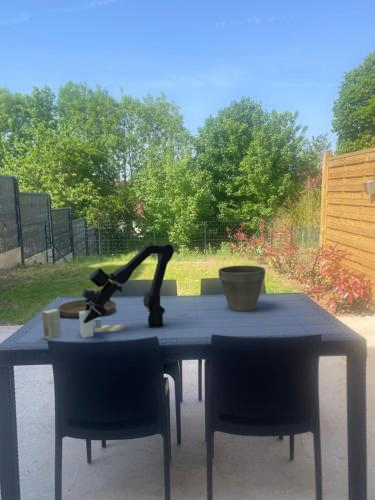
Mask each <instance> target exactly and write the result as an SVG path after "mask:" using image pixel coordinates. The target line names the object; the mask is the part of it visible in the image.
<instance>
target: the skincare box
mask: <svg viewBox="0 0 375 500" xmlns="http://www.w3.org/2000/svg"><path fill="white" fill-rule="evenodd" d="M60 314H61V313H60V312H59V310H58V308H57V309H55V308H52V309H49V310H45V311H42V325H43V335H44V337H43V338H44V339H45V340H51V339H55V338H58V337H61V336H62V327H61V316H60Z"/></svg>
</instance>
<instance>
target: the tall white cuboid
mask: <svg viewBox="0 0 375 500" xmlns="http://www.w3.org/2000/svg"><path fill="white" fill-rule="evenodd" d="M89 312H90V310H87V311H79V318H78V319H79V320H78V321H79V335H80V336H81V337H82V338H83V339H85V338H90V337H94V332H93V329H94V323H93V322H94V321H93V320H91V321H89V322H87V323H84V320H85V318H86V317H87V315H88V314H89Z"/></svg>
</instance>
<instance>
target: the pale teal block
mask: <svg viewBox="0 0 375 500" xmlns="http://www.w3.org/2000/svg"><path fill="white" fill-rule="evenodd" d="M94 320H95V326H96V328H101V327H102V318H101V317H97V318H95V319H94Z"/></svg>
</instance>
